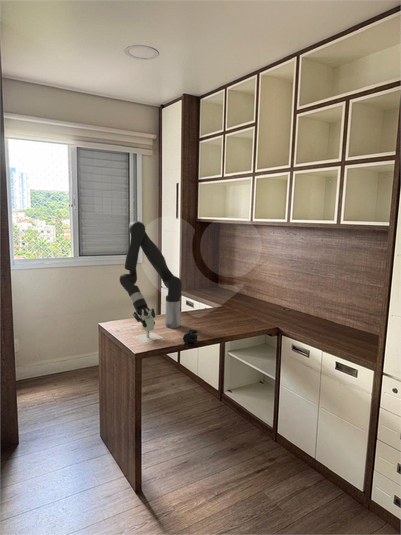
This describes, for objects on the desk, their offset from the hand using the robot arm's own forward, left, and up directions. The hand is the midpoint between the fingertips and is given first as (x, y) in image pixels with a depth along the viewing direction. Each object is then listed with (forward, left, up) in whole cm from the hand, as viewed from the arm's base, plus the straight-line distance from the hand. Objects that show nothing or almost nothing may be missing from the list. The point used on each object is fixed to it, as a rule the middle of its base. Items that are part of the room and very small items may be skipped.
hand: (149, 325), depth 208 cm
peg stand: (0, -2, -9) cm, 9 cm away
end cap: (-17, +16, -9) cm, 25 cm away
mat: (-1, -21, -9) cm, 23 cm away
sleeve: (0, -2, -3) cm, 3 cm away
